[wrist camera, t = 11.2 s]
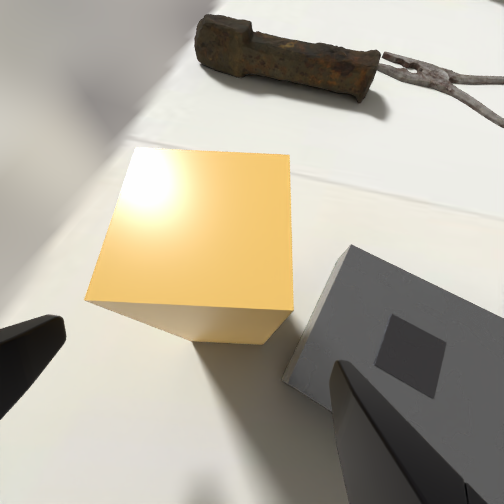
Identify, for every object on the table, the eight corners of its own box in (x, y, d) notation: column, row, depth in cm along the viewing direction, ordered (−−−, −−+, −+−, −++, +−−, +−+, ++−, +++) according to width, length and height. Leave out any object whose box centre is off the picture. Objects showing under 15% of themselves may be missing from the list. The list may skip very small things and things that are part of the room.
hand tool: (366, 87, 27) (389, 35, 22) (362, 109, 25) (385, 57, 21) (208, 53, 29) (201, 0, 25) (194, 71, 27) (184, 18, 23)
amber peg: (262, 344, 15) (293, 310, 5) (191, 341, 15) (84, 300, 5) (264, 276, 17) (289, 154, 7) (200, 273, 17) (135, 147, 7)
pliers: (587, 147, 22) (370, 100, 25) (576, 154, 23) (367, 108, 25) (565, 85, 26) (380, 49, 28) (556, 93, 27) (376, 58, 29)
